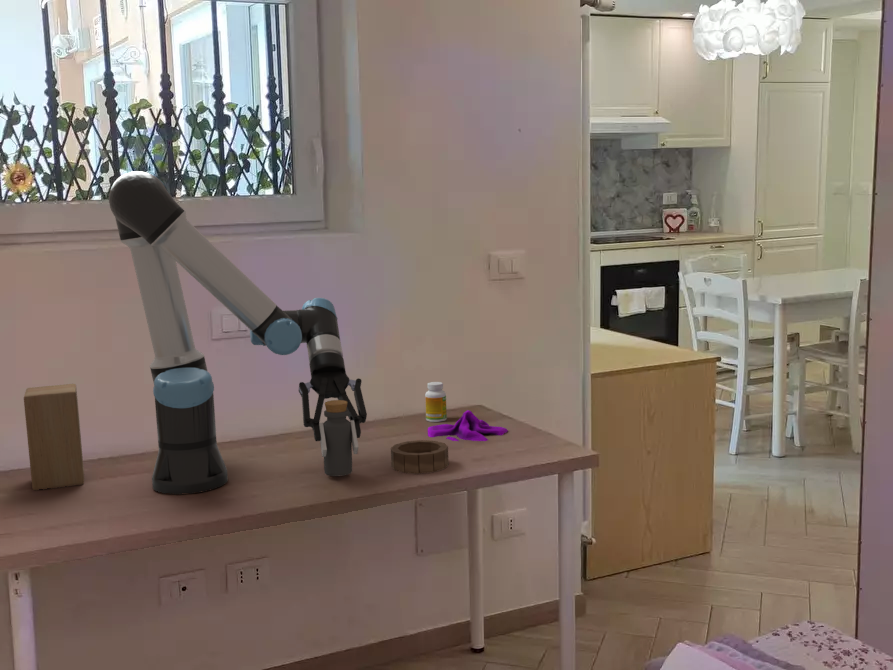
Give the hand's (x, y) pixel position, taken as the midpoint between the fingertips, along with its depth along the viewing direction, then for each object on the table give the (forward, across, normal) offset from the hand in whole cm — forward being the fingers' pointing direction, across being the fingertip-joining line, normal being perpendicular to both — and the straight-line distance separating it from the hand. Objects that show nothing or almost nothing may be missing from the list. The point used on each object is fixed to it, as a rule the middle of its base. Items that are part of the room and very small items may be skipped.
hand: (340, 451), depth 198 cm
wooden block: (-10, +57, -20) cm, 61 cm away
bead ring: (0, -18, -8) cm, 20 cm away
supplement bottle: (-28, -32, -37) cm, 56 cm away
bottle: (+1, 0, -6) cm, 7 cm away
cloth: (-15, -36, -25) cm, 46 cm away
